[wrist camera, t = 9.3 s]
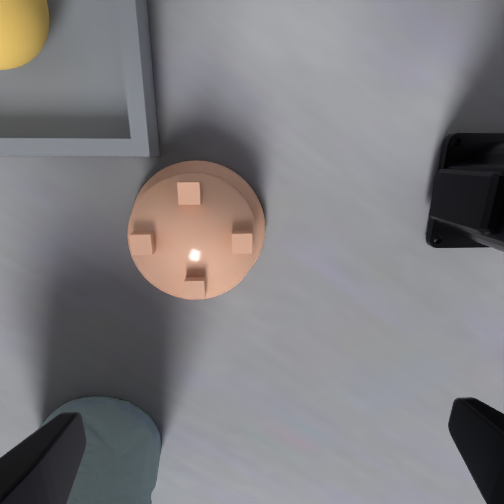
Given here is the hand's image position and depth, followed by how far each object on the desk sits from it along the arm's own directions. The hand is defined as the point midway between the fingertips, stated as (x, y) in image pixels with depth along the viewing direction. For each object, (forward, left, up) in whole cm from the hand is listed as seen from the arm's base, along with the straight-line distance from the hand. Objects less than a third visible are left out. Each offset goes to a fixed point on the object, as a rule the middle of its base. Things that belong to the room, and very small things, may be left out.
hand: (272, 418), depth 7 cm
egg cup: (+3, -2, -12) cm, 13 cm away
